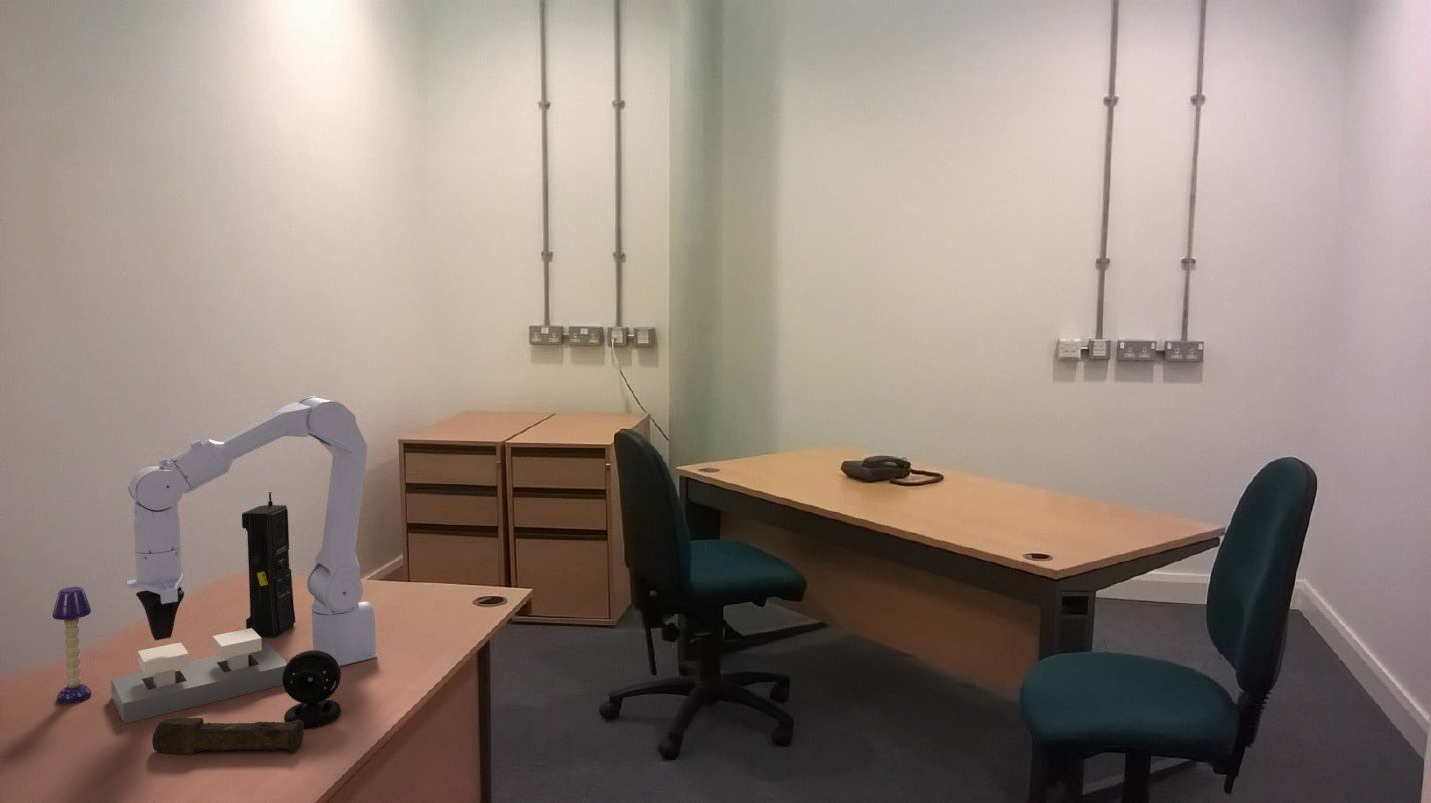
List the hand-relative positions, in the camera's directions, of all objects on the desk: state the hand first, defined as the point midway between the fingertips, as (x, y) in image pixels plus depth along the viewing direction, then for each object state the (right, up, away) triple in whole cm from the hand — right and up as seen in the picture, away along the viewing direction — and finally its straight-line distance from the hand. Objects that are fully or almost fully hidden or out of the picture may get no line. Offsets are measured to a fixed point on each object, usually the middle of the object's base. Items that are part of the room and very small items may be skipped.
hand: (162, 637), depth 134 cm
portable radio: (+2, -7, +29) cm, 30 cm away
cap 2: (+7, -6, +7) cm, 12 cm away
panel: (+4, -9, +4) cm, 11 cm away
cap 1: (0, -7, +1) cm, 7 cm away
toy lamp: (-14, -9, +1) cm, 17 cm away
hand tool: (+17, -12, -14) cm, 25 cm away
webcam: (+24, -11, -4) cm, 27 cm away
